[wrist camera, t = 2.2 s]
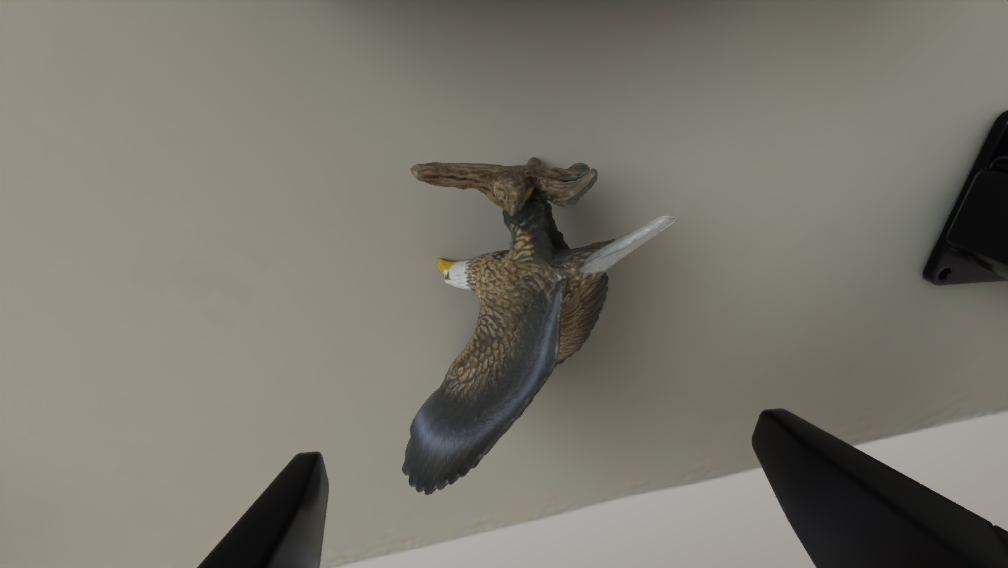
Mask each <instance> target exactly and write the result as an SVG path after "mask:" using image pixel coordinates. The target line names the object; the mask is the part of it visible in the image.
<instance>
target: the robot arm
mask: <svg viewBox="0 0 1008 568" xmlns="http://www.w3.org/2000/svg"><path fill="white" fill-rule="evenodd" d="M923 278H924V279H925V280H927V281H929V282H931V283H933V284H935V285H947V284H962V283H977V282H993V281H1008V110H1007V111H1005V112H1004V113H1002V114H1001V115H1000V116H999V117H998V118H997V120H996V121H995V123H994V125H993V127H992V129H991V131H990V133H989V135H988V137H987V139H986V141H985V143H984V145H983V148H982V150H981V152H980V154H979V156H978V158H977V160H976V162H975V164H974V166H973V168H972V170H971V173H970V175H969V177H968V179H967V181H966V183H965V185H964V187H963V189H962V191H961V193H960V196H959V198H958V200H957V202H956V204H955V206H954V208H953V210H952V212H951V214H950V216H949V218H948V221H947V223H946V225H945V227H944V229H943V231H942V233H941V235H940V237H939V239H938V241H937V244H936V246H935V248H934V250H933V252H932V254H931V256H930V258H929V260H928V262H927V264H926V266H925V269H924V271H923ZM752 446H753V449H754V451H755V453H756V455H757V458H758V460H759V462H760V464H761V466H762V468H763V470H764V472H765V474H766V476H767V478H768V480H769V482H770V485H771V486H772V489H773V491H774V493H775V495H776V497H777V499H778V501H779V503H780V505H781V507H782V509H783V511H784V513H785V515H786V517H787V519H788V521H789V522H790V524H791V526H792V528H793V529H794V531H795V533H796V534H797V536H798V538H799V539H800V541H801V543H802V544H803V546H804V548H805V549H806V551H807V553H808V555H809V556H810V558H811V559H812V561H813V563H814V565H815V566H816V568H1008V532H1007V531H1006V530H1004V529H1002V528H1000V527H999V526H995V525H994V526H993V525H992V523H991V522H989V521H987V520H986V519H984V518H982V517H980V516H978V515H976V514H975V513H973V512H971V511H969V510H967V509H965V508H964V507H962V506H960V505H958V504H956V503H955V502H953V501H951V500H949V499H947V498H945V497H944V496H942V495H940V494H938V493H936V492H935V491H933V490H931V489H929V488H927V487H926V486H924V485H922V484H920V483H918V482H916V481H915V480H913V479H911V478H909V477H907V476H905V475H903V474H902V473H900V472H898V471H896V470H895V469H893V468H891V467H889V466H887V465H885V464H884V463H882V462H880V461H878V460H876V459H874V458H873V457H871V456H869V455H867V454H865V453H864V452H862V451H860V450H858V449H856V448H854V447H853V446H851V445H849V444H847V443H845V442H844V441H842V440H840V439H838V438H836V437H834V436H833V435H831V434H829V433H827V432H825V431H823V430H822V429H820V428H818V427H816V426H814V425H813V424H811V423H809V422H807V421H805V420H803V419H802V418H800V417H798V416H796V415H794V414H793V413H791V412H789V411H787V410H785V409H780V408H779V409H768V410H764V411H763V412H761V414H760V416H759V419H758V422H757V424H756V427H755V430H754V433H753V436H752ZM328 493H329V483H328V477H327V473H326V469H325V465H324V461H323V457H322V455H321V453H320V452H306V453H299V454H297V455H296V456H295V457H294V458H293V459H292V460H291V461H290V462H289V463H288V465H287V466H286V467H285V468H284V469H283V470H282V471H281V473H280V474H279V475H278V476H277V477H276V478H275V479H274V481H273V482H272V483H271V484H270V485H269V486H268V487H267V489H266V490H265V491H264V492H263V493H262V494H261V495H260V497H259V498H258V499H257V500H256V501H255V502H254V503H253V505H252V506H251V507H250V508H249V509H248V510H247V511H246V513H245V514H244V515H243V516H242V517H241V518H240V519H239V521H238V522H237V523H236V524H235V525H234V526H233V527H232V529H231V530H230V531H229V532H228V533H227V534H226V535H225V537H224V538H223V539H222V540H221V541H220V542H219V543H218V545H217V546H216V547H215V548H214V549H213V550H212V551H211V553H210V554H209V555H208V556H207V557H206V558H205V559H204V561H203V562H202V563H201V564H200V565H199V566H198V567H197V568H319V567H320V559H321V551H322V543H323V535H324V526H325V518H326V510H327V502H328Z"/></svg>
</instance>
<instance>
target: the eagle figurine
mask: <svg viewBox="0 0 1008 568" xmlns="http://www.w3.org/2000/svg"><path fill="white" fill-rule="evenodd" d="M589 170H590V167H589V166H588V165H586V164H583V163H577V164H574V165H572V166H571V167H569V168H568V169H561V168H553V169H541V162H540V160H539V159H537V158H531V159H530V160H529V162H528V164H527V166H501V165H492V164H469V163H438V162H434V163H427V164H418V165H415V166H412V167H411V173H412V174H413V176H414V177H415V178H416V179H418V180H419V181H424V182H426V183H428V184H431V185H435V186H443V187H456V188H459V189H463V190H464V189H467V188H475V189H478V190H479V191H481V192H483V193H484V194H485V195H486V196H487V197H488V198H489V199H490V200H491V201H492V202H494V203H495V204H496V205H498V206H500V207H502V208H503V215H504V223H505V224H506V226H507V227H508V228H509V230H510V231H511V233H512V238H511V246H510V250H504V251H497V252H492V253H487V254H482V255H480V256H478V257H475V258H473V259H470V260H467V261H455V262H449V261H444V260H443V259H441V258H439V259H438V260H437V265H438V267H439V269H440V270H441V272H442V273H443V274H444V276H445V277H444V280H445V282H446V283H448V284H450V285H452V286H454V287H457V288H460V289H465V290H469V291H472V292H475V293H477V294H478V296H479V299H480V304H481V309H480V314H479V318H478V323H477V327H476V330H475V332H474V335H473V337H472V339H471V340H470V342H469V344H468V345H467V346H466V348H465V349H464V350H463V351H462V352H461V354H460V355H459V356H458V357H457V358H456V359H455V361H454V362H453V363H452V365H451V366H450V368H449V370H448V372H447V374H446V376H445V379H444V381H443V383H442V385H441V387H440V388H439V389H437V390H436V391H435V392H434V393H432V394H431V396H430V397H429V398H428V399H427V401H426V402H425V403H424V404H423V406H422V407H421V408H420V410H419V411H418V413H417V415H416V416H415V418H414V420H413V422H412V424H411V427H410V435H411V438H410V440H409V442H408V444H407V447H406V452H405V462H404V465H403V467H402V471H403V473H404V474H405V475H408V476H409V485H410V486H411V487H416V490H417V492H418V493H419V492H422V491H423V490H424V491H425V494H426V495H429V494H432V493H433V492H434V491H435V490H436V489H438V490H442V489H443V488H444V487H445V486H446V485H447V484H450V485H452V484H453V483H454V482H455V481H456V480H457V479H458V478H459V477H463V476H465V475H466V474H467V473H468V471H469V470H470V469H472V468H475V467H476V466H477V465H478V463H479V462H480V460H481V459H482V458H483V456H484V455H486V454H487V453H488V452H489V451H490V450H491V449H492V447H493V446H494V445H495V444H496V442H497V441H498V440H499V438H500V437H501V436H502V435H503V434H504V433H505V432H506V431H507V430H508V429H509V428H510V427H511V425H512V424H513V423H514V421H515V420H516V419H518V418H519V417H520V416H521V415H522V414H523V412H524V410H525V409H526V408H527V407H528V405H529V404H530V403H531V402H532V400H533V398H534V396H535V395H536V394H537V393H538V392H539V390H540V389H541V387H542V386H543V385H544V383H545V382H546V380H547V379H548V377H549V376H550V375H551V373H552V371H553V368H554V367H555V366H556V365H557V364H560V363H562V362H563V361H564V360H565V359H566V358H568V357H571V356H572V355H573V354H574V352H576V351H578V350H579V349H580V348H581V346H582V344H583V343H584V342H585V341H586V339H588V337H589V335H590V332H591V330H592V329H593V327H594V324H595V323H596V322H597V320H598V318H599V313H600V311H601V310H602V307H603V304H604V301H605V299H606V292H607V290H608V287H607V283H608V276H607V275H606V273H605V272H606V271H607V270H608V269H609V268H610V267H611V266H613V265H614V264H615V263H616V262H618V261H619V260H620V259H622V258H623V257H625V256H626V255H628V254H629V253H630V252H632V251H633V250H635V249H636V248H638V247H639V246H641V245H642V244H644V243H645V242H647V241H648V240H650V239H651V238H652V237H654V236H655V235H657V234H658V233H660V232H661V231H663V230H664V229H666V228H667V227H669V226H670V225H672V224H673V223H674V222H675V221H676V219H677V217H675V216H661V217H658V218H655V219H653V220H652V221H650V222H648V223H646V224H645V225H643V226H641V227H640V228H638V229H636V230H634V231H632V232H630V233H628V234H626V235H623V236H621V237H619V238H617V239H613V240H609V241H605V242H599V243H594V244H591V245H589V246H586V247H582V248H575V249H570V248H569V247H568V245H567V244H566V243H565V242H564V241H563V234H562V233H561V232H559V231H558V230H557V227H556V225H555V221H554V219H553V217H552V207H551V205H550V204H549V203H547V200H549V201H551V202H553V203H554V204H556V205H558V206H561V207H566V208H571V207H574V206H575V205H576V203H577V201H578V200H579V198H580V197H581V196H583V195H584V194H585V193H586V192H587V191H588V190H589V189H590V188H591V187H592V186H593V184H594V183H595V182H596V180H597V176H598V171H597V170H596V169H591V170H590V171H589ZM579 178H580V179H579ZM578 179H579V180H578ZM576 180H578V181H576ZM569 181H576V182H574V183H566V182H569Z"/></svg>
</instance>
